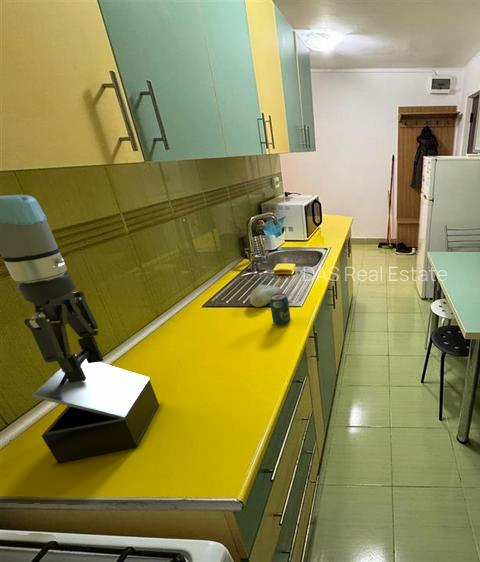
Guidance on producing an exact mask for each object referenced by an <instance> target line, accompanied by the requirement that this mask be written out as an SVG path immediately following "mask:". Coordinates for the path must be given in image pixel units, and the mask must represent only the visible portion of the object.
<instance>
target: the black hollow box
mask: <svg viewBox="0 0 480 562" xmlns="http://www.w3.org/2000/svg"><path fill="white" fill-rule="evenodd" d="M159 407H160V403H159V400H158V398H157V395H156V393H155V390H154V387H153V385H152V382H151V380H150V379H149V380H148V382H147V383H146V385H145V387H144V388H143V390H142V391H141V393H140V395H139V396H138V398H137V399H136V401H135V403H134V404H133V406H132V407H131V409H130V411H129V412H128V414H127V415H126V417H125V418H124V420H122V419H118V418H114V417H110V416H106V415H102V414H98V413H94V412H90V411H86V410H82V409H78V408H74V407H70V406H66V407H65V408H64V409H63V410H62V412H61V413H60V414H59V415H58V416H57V417H56V418H55V419H54V420H53V422H52V423H51V424H50V425H49V427H48V428H47V429H45V430H44V432H43V433H42V434H40V435H41V438H42V440H43V441H44V443H45V445H46V446H47V448H48V449H49V451H50V453H51V454H52V456H53V458H54V459H55V461H56V462H57V464H64V463H69V462H75V461H79V460H84V459H88V458H93V457H99V456H104V455H108V454H112V453H118V452H123V451H128V450H133V449H137V448H138V447H139V446H140V444H141V442H142V440H143V438H144V436H145V434H146V432H147V430H148V428H149V426H150V424H151V423H152V421H153V418H154V417H155V415H156V413H157V411H158V409H159Z"/></svg>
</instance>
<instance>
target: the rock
mask: <svg viewBox="0 0 480 562" xmlns="http://www.w3.org/2000/svg"><path fill="white" fill-rule="evenodd" d="M281 290H282V289H281V288H280V286H276V285H270V284H261V285H257V286H256V287H255V288H253V290H252V291H251V292H250V294H249V302H250V304H251V305H252V306H253V307H256V308H260V307H264V306H267V305H268V304H270V300H271V296H272V295H275V294H280V293H281Z"/></svg>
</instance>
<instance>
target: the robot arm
mask: <svg viewBox="0 0 480 562" xmlns="http://www.w3.org/2000/svg"><path fill="white" fill-rule="evenodd" d="M0 255H1V259H2V260H3V262H4V265H5V267H6V268H7V270H8V273H9V275H10V276H11V279H12V280H13V281H15V282H17V283H16V287H17V289H18V291H19V293H20V295H21V297H22V299H23V300H24V301H26V302H29V303H31V304H33V308H34V309H33V310H34V313H35V314H34V315H33V316H32V317H28V318H25V319H24V321H23V323H24V325H25V326H26V327H27V328H28V329H29V330H30V332H31V333H32V336H33V338H34V341H35V342H36V345H37V347H38V349H39V351H40V353H41V356H42V358H43V361H44V362H45V363H54V362H57V364H58V366H59V368H60V369H62V371H63V372H64V373H65V375H66V376H67V378H68V380H69V382H70V383H72V382H79V381H85V380H86V379H87V378H86V376H85V374H84V372H83V370H82V367H81V365H80V363H79V361H78V359H77V357H76V355H77V354H75V353H72V351H71V347H70V343H69V337H68V336H69V335H68V331H67V325H69V327H70V328H71V329H72V330H73V331H74V333H75V334H77V336H78V337H79V338H78V339H77V342H78V344H79V346H80V349H81V350H82V349H85V348H88V349H90V350H91V351H92V354H91V355H90V356H89V357H88V358H87V362H88V364H89V363H96V362H101V363H103V362H104V357H103V355H102V353H101V350H100V348H99V346H98V342H97V341H96V338H95V336H98V335H99V333H100V332H99V330H98V328H99V325H98V322H97V321H96V319H95V317H94V315H93V313H92V310H91V308H90V307H89V305H88V302H87V301H86V296H85V292H84V291H83V290H78V291H75V290H76V285H75V282H74V279H73V278H72V276H71V273H70V272H67V270H68V267H67V264H66V263H65V260H64V258H63V256H62V254H61V251H60V249H59V246H58V244H57V241H56V239H55V237H54V234H53V232H52V229H51V226H50V225H49V222H48V218H47V215H46V214H45V213H44V211H43V209H42V208H41V206H40V203H39V201H38V200H37V199H36V198H35V197H34V196H32V195H29V194H8V195H6V194H4V195H0Z"/></svg>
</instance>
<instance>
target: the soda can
mask: <svg viewBox="0 0 480 562" xmlns="http://www.w3.org/2000/svg"><path fill="white" fill-rule="evenodd" d="M269 306H270V312H271V318H272V322H273V324H274V325H275V326H276V327H285V326H287V325H289V324H290V322H291V319H292V318H291V313H290V304H289V298H288V297H287V294H285V293H282V292H279V294H275V295H272V296H271V300H270V303H269Z"/></svg>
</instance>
